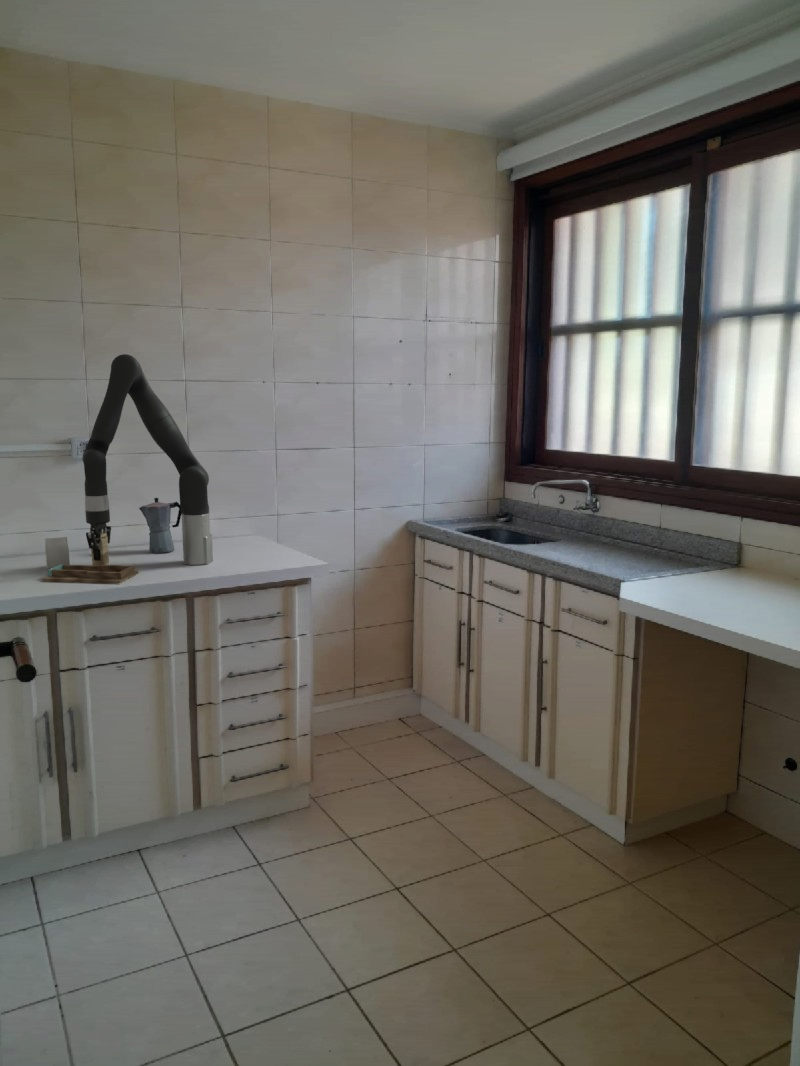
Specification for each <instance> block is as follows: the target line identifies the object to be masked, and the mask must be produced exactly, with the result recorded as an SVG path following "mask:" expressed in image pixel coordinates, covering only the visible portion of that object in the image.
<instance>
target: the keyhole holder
mask: <svg viewBox="0 0 800 1066" xmlns="http://www.w3.org/2000/svg"><path fill="white" fill-rule="evenodd" d="M139 572H140V571H139V570H138V569H137V570H136V565H127V564H125V565H121V564H109V565H100V566H98V565H91V564H89V565H88V564H86V565H85V564H70V565H58V566H56V567H54V568H52V569H48V570H47V576H44V577H43V578H42V582H43V581H49V582H48V583H73V582H79V583H78V584H81V583H82V584H107V583H121V582H123V581H124V582H126V581H127V580H126V579H128V578H130V577H131V578H133V577H134V575H135V576H137V575H138V574H139ZM136 574H137V575H136ZM132 576H133V577H132ZM131 578H130V579H131ZM125 580H126V581H125ZM128 580H129V579H128ZM124 582H123V583H124ZM121 584H122V583H121Z"/></svg>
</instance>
